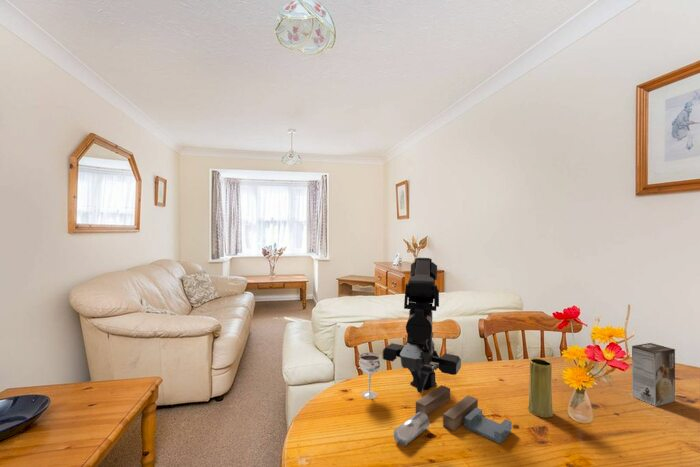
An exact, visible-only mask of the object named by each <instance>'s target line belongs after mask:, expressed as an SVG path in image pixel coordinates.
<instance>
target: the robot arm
mask: <svg viewBox="0 0 700 467" xmlns="http://www.w3.org/2000/svg"><path fill="white" fill-rule="evenodd" d="M432 260H433V259H432V258H430V257H416V258H415V260H414V262H413V263H411V264H410V277H409V278H408V281H407V283H405V289H404V300H403V301H404V303H403V304H404V305H403V309H404V310H409V311H408V314H409V316H408V319H407V322H406V323H405V324H406V325H405V330H406V331H405V332H406V334H407V337H406V343H405V345H403V344H398V343H389V345H387V346H386V347H384V348H383V350H382V354H381V355H382V359H383V360H384V361H389V362H394V361H395V360H397V358H399V359H400V364H401V367H402V368H404V369H408V371H409V372H410V374H411V376H412V381H410V383H409V384H410V385H412V386H414V387H416V390H417V392H418V393H419V394H420V393H421V394H422V393H423V390H424V391H425V392H426V391H428V390H430V389H432V388H434V387H435V386H437V385H438V384H437V382H436V372H435V371H437V369H439V371H440V372H441V373H442V374H446V375H447V374H448V375H452V376H455V375H457V374H458V373H459V371H460V370H461V368H462V361H461V360H462V359H461V358H460V356H459V355H456V354H450V353H447V352H446V353H443V354H442V355H441V356H439V354H438V352H437V350H435V343H434V341H433V337H434V332H433V311H434V312H436V311H437V307H438V308H439V307H440V289H439V288H438V286H437V284H436V281H438V264H436V263H434V262H433V261H432ZM433 304H434V305H433Z"/></svg>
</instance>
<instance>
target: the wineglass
mask: <svg viewBox="0 0 700 467" xmlns="http://www.w3.org/2000/svg"><path fill="white" fill-rule="evenodd" d="M358 357H359V360H358V365H359V369H360V370H361V371H362V372H363V373H364V374H367V376H368V378H367V379H368V390H365V391H362V392H361V396H362V398H364V399H367V400H373V399H376V398H377V397H378V393H377V392H375V391H373V390H371V380H372V377H371V376H372V375H373V374H376V373H377V372H378V371H379V369H380V367H381V360H380V359H381V355H380V354H378V353H375V352H362V353H360V354H359V355H358Z"/></svg>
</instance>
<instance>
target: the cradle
mask: <svg viewBox="0 0 700 467" xmlns="http://www.w3.org/2000/svg"><path fill="white" fill-rule="evenodd" d="M512 423H513V422H512V421H511V420H509V419H504V420H502V422H501V423H500V422H497V421H494V420H492V419H489V418H486V417H485V416H483V409H481V408H479V407H478V408H477V407H476V408H475V409H474V410H473V411H472V412H470V413H469V414H468V415H467V416H466V417H465V422H464V423H463V424H464V428H465V429H467V430H469V431H471V432H473V433H475V434H477V435H479V436H482V437H484V438H487V439H488V440H491V441H492V442H495V443H497V444H498V445H499V444H500V445H501V444H502V443H503V442H504V441H505V440H506V439H507V438H508V436H509V435H510V434H511V433H512V428H513V425H512Z"/></svg>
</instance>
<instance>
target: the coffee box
mask: <svg viewBox="0 0 700 467" xmlns="http://www.w3.org/2000/svg"><path fill="white" fill-rule="evenodd" d="M631 355H632V356H631V378H632V379H631V380H632V382H631V397H632V396H633V397H632V398H634V397H636V398H635V399H637V398H638V399H637V400H639V399H640V400H639V401H641V400H642V401H641V402H644V401H645V402H644V403H646V402H647V404H648V405H651V404H652V405H651V406H653V405H654V406H653V407H660V406H663V405H666V404H667V405H668V404H671V403H674V402H676V349H675V348H672V347H668V346H663V345H660V344H656V343H653V342H649V343H648V342H647V343H642V344H636V345H632V346H631Z"/></svg>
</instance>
